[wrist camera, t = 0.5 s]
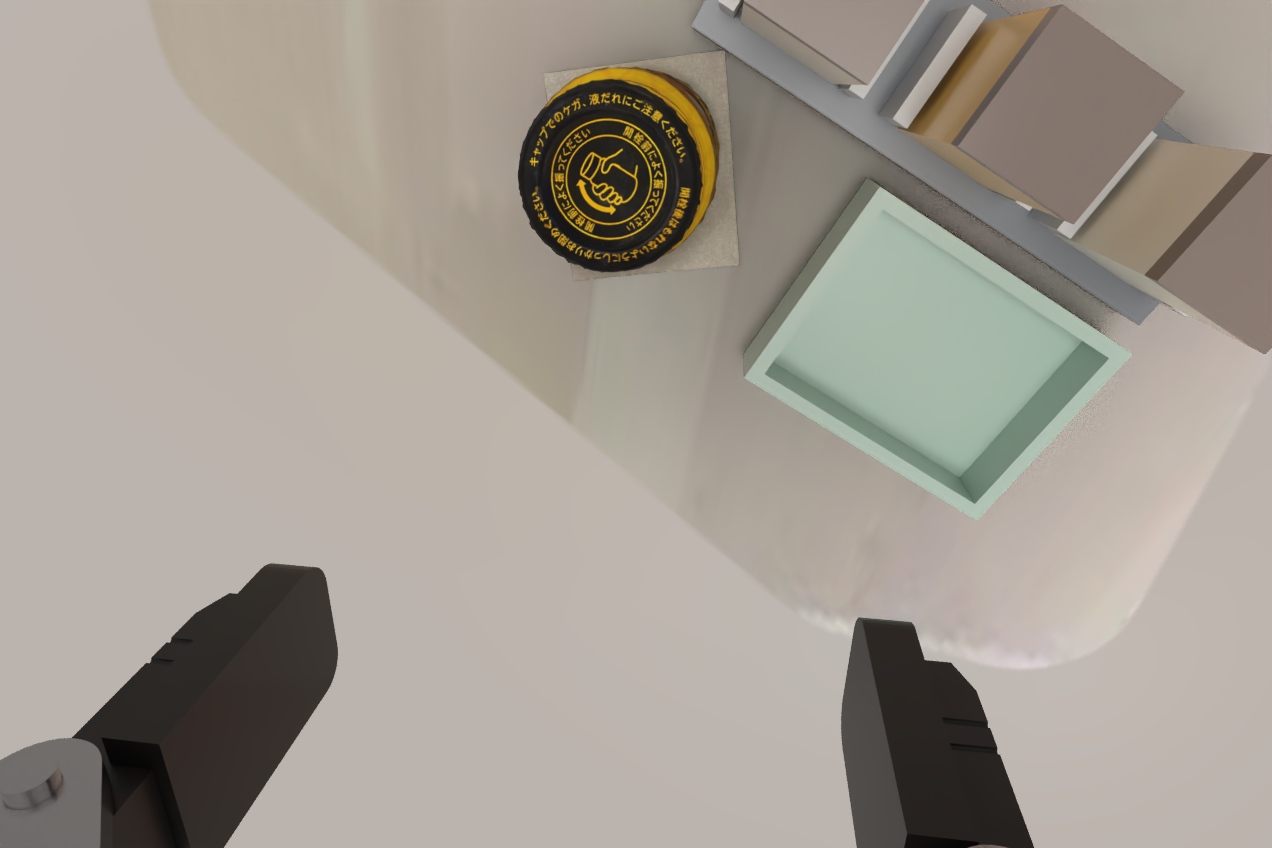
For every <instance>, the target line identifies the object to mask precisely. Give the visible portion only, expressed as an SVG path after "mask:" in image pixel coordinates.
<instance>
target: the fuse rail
mask: <svg viewBox="0 0 1272 848" xmlns="http://www.w3.org/2000/svg"><path fill="white" fill-rule="evenodd" d="M1010 16H1013V15H1011V14H1010V13H1008V12H1007V11H1006V10H1004V9H1003V8H1001V7H1000V6H999V5H997V4H996V3H994V2H993V1H991V0H705V1H704V3H703V5H702V7H701V9H700V10H699V12H698V14H697V16H696V17H695V19H694V21H693V23H692V25H691V27H692V28H693V29H694V30H696V31H697V32H699V33H700V34H702V35H703V36H705V37H706V38H708V39H709V40H711V41H712V42H714V43H715V44H717V45H718V46H720V47H721V48H723V49H724V50H726V51H727V52H729V53H730V54H732V55H733V56H735V57H736V58H738V59H739V60H741V61H742V62H744V63H745V64H747V65H748V66H750V67H751V68H752V69H754V70H755V71H757V72H758V73H760V74H761V75H763V76H764V77H766V78H767V79H769V80H770V81H772V82H773V83H775V84H776V85H778V86H779V87H781V88H782V89H784V90H785V91H787V92H788V93H790V94H791V95H793V96H794V97H796V98H797V99H799V100H800V101H802V102H803V103H805V104H806V105H808V106H809V107H811V108H812V109H814V110H815V111H817V112H818V113H820V114H821V115H823V116H824V117H826V118H827V119H829V120H830V121H832V122H833V123H835V124H836V125H838V126H839V127H841V128H842V129H844V130H845V131H847V132H848V133H850V134H851V135H853V136H854V137H856V138H857V139H859V140H860V141H862V142H863V143H865V144H866V145H868V146H869V147H871V148H872V149H874V150H875V151H877V152H878V153H880V154H881V155H883V156H884V157H886V158H887V159H889V160H890V161H892V162H893V163H895V164H896V165H898V166H899V167H901V168H902V169H904V170H905V171H907V172H908V173H910V174H911V175H913V176H914V177H916V178H917V179H919V180H920V181H922V182H923V183H925V184H926V185H928V186H929V187H931V188H932V189H934V190H935V191H937V192H938V193H940V194H941V195H943V196H944V197H946V198H947V199H949V200H950V201H952V202H953V203H955V204H956V205H958V206H959V207H961V208H962V209H964V210H965V211H967V212H968V213H970V214H971V215H973V216H974V217H976V218H977V219H979V220H980V221H982V222H983V223H985V224H986V225H988V226H989V227H991V228H992V229H994V230H995V231H997V232H998V233H1000V234H1001V235H1002V236H1004V237H1005V238H1007V239H1008V240H1010V241H1011V242H1013V243H1014V244H1016V245H1017V246H1019V247H1020V248H1022V249H1023V250H1025V251H1026V252H1028V253H1029V254H1031V255H1032V256H1034V257H1035V258H1037V259H1038V260H1040V261H1041V262H1043V263H1044V264H1046V265H1047V266H1049V267H1050V268H1052V269H1053V270H1055V271H1056V272H1058V273H1059V274H1061V275H1062V276H1064V277H1065V278H1067V279H1068V280H1070V281H1071V282H1073V283H1074V284H1076V285H1077V286H1079V287H1080V288H1082V289H1083V290H1085V291H1086V292H1088V293H1089V294H1091V295H1092V296H1094V297H1095V298H1097V299H1098V300H1100V301H1101V302H1103V303H1104V304H1106V305H1107V306H1109V307H1110V308H1112V309H1113V310H1115V311H1116V312H1118V313H1120V314H1121V315H1123V316H1125V317H1126V318H1128V319H1129V320H1131V321H1133V322H1134V323H1136V324H1138V325H1140V324H1141V323H1142V322H1143V320H1144V319H1145V318H1146V317H1147V316H1148V315H1149V314H1150V313H1151V312H1152V311H1153V310H1154V309H1155V307H1156V306H1157V305H1158V304H1159V303H1160V304H1162V305H1164V306H1166V307H1168V308H1170V309H1172V310H1173V311H1175V312H1177V313H1179V314H1181V315H1183V316H1185V317H1186V316H1187V315H1189V316H1191V317H1193V318H1195V319H1197V320H1199V321H1201V322H1203V323H1205V324H1207V325H1209V326H1211V327H1213V328H1215V329H1216V330H1218V331H1220V332H1222V333H1224V334H1226V335H1228V336H1230V337H1232V338H1234V339H1236V340H1238V341H1240V342H1242V343H1244V344H1246V345H1248V346H1250V347H1252V348H1253V349H1255V350H1257V351H1259V352H1261V353H1263V354H1266V353H1267V352H1268V351H1269V350H1270V349H1271V348H1272V155H1270V154H1263V153H1255V152H1248V151H1241V150H1234V149H1226V148H1219V147H1212V146H1205V145H1197V144H1193V143H1192V142H1191V141H1189V140H1188V139H1186V138H1185V137H1183V136H1182V135H1181V134H1179V133H1178V132H1176V131H1175V130H1174V129H1172V128H1171V127H1169V126H1168V125H1167V124H1165V123H1164V122H1162V121H1160V122H1159V123H1158V124H1157V125H1156V127H1155V128H1154V129H1153V130H1152V131H1151V133H1150V134H1149V135H1148V136H1147V137H1146V139H1145V140H1144V141H1143V142H1142V143H1141V144H1140V146H1139V147H1138V148H1137V149H1136V150H1135V152H1134V153H1133V154H1132V155H1131V156H1130V158H1129V159H1128V160H1127V161H1126V162H1125V164H1124V165H1123V166H1122V167H1121V168H1120V170H1119V171H1118V172H1117V173H1116V174H1115V176H1114V177H1113V178H1112V179H1111V180H1110V182H1109V183H1108V184H1107V185H1106V186H1105V188H1104V189H1103V190H1102V191H1101V192H1100V194H1099V195H1098V196H1097V197H1096V198H1095V200H1094V201H1093V202H1092V203H1091V204H1090V206H1089V207H1088V208H1087V209H1086V210H1085V212H1084V213H1083V214H1082V215H1081V216H1080V218H1079V219H1078V220H1077V221H1076V222H1075V224H1074V225H1073V224H1071V223H1069V222H1066V221H1064V220H1062V219H1059V218H1057V217H1054V216H1052V215H1050V214H1047V213H1045V212H1043V211H1040V210H1038V209H1035V208H1033V207H1031V206H1028V205H1026V204H1024V203H1021V202H1019V201H1016V200H1014V199H1012V198H1009V197H1007V196H1005V195H1002V194H1000V193H998V192H995V191H993V190H990V189H988V188H986V187H983V186H982V185H980V184H979V183H978V182H976V181H975V180H973V179H972V178H970V177H969V176H967V175H966V174H964V173H963V172H961V171H960V170H958V169H957V168H955V167H954V166H952V165H951V164H949V163H948V162H946V161H945V160H943V159H942V158H940V157H939V156H937V155H936V154H935V153H933V152H932V151H930V150H929V149H927V148H926V147H924V146H923V145H921V144H920V143H918V142H917V141H915V140H914V139H912V138H911V137H909V136H908V135H906V134H905V133H903V132H902V131H900V130H899V129H898V127H903V128H908V127H909V125H910V124H911V122H912V121H913V119H914V118H915V117H916V115H917V114H918V112H919V111H920V109H921V108H922V107H923V105H924V104H925V102H926V101H927V100H928V98H929V97H930V95H931V94H932V92H933V91H934V90H935V88H936V87H937V85H938V84H939V82H940V81H941V80H942V78H943V77H944V75H945V74H946V73H947V71H948V70H949V68H950V67H951V65H952V64H953V63H954V61H955V60H956V58H957V57H958V55H959V54H960V53H961V51H962V50H963V48H964V47H965V46H966V44H967V43H968V41H969V40H970V38H971V37H972V36H973V34H974V33H975V31H976V30H977V28H978V27H979V26H980V24H981V23H984V22H988V21H993V20H997V19H1002V18H1006V17H1010Z"/></svg>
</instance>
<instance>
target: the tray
mask: <svg viewBox="0 0 1272 848" xmlns="http://www.w3.org/2000/svg"><path fill="white" fill-rule="evenodd" d="M1131 356H1132V353H1130V352H1129V351H1128V350H1126V349H1125V348H1123V347H1122V346H1120V345H1119V344H1117V343H1116V342H1114V341H1113V340H1111V339H1110V338H1108V337H1107V336H1106V335H1104V334H1103V333H1101V332H1100V331H1098V330H1097V329H1095V328H1094V327H1092V326H1091V325H1089V324H1088V323H1086V322H1085V321H1083V320H1082V319H1080V318H1079V317H1077V316H1076V315H1074V314H1073V313H1071V312H1069V311H1068V310H1066V309H1065V308H1063V307H1062V306H1060V305H1059V304H1057V303H1056V302H1054V301H1053V300H1051V299H1050V298H1048V297H1047V296H1045V295H1044V294H1042V293H1041V292H1039V291H1038V290H1036V289H1035V288H1033V287H1032V286H1030V285H1029V284H1027V283H1026V282H1024V281H1023V280H1021V279H1020V278H1018V277H1017V276H1015V275H1014V274H1012V273H1011V272H1009V271H1008V270H1006V269H1005V268H1003V267H1002V266H1000V265H999V264H997V263H996V262H994V261H992V260H991V259H989V258H988V257H986V256H985V255H983V254H982V253H980V252H979V251H977V250H976V249H974V248H973V247H971V246H970V245H968V244H967V243H965V242H964V241H962V240H961V239H959V238H958V237H956V236H955V235H953V234H952V233H950V232H949V231H947V230H946V229H944V228H943V227H941V226H940V225H938V224H937V223H935V222H934V221H932V220H931V219H929V218H928V217H926V216H925V215H923V214H922V213H920V212H919V211H917V210H915V209H914V208H912V207H911V206H909V205H908V204H906V203H905V202H903V201H902V200H900V199H899V198H897V197H896V196H894V195H893V194H891V193H890V192H888V191H887V190H885V189H884V188H882V187H881V186H879V185H878V184H876V183H875V182H873V181H872V180H870V179H869V178H866V180H865V181H864V183H863V184H862V186H861V187H860V188H859V190H858V191H857V193H856V194H855V196H854V197H853V198H852V200H851V201H850V203H849V204H848V206H847V207H846V208H845V210H844V211H843V213H842V214H841V216H840V217H839V218H838V220H837V221H836V223H835V224H834V226H833V227H832V228H831V230H830V231H829V233H828V234H827V236H826V237H825V238H824V240H823V241H822V243H821V244H820V246H819V247H818V248H817V250H816V251H815V253H814V254H813V256H812V257H811V258H810V260H809V261H808V263H807V264H806V266H805V267H804V268H803V270H802V271H801V273H800V274H799V276H798V277H797V278H796V280H795V281H794V283H793V284H792V286H791V287H790V288H789V290H788V291H787V293H786V294H785V296H784V297H783V298H782V300H781V301H780V303H779V304H778V306H777V307H776V308H775V310H774V311H773V313H772V314H771V316H770V317H769V318H768V320H767V321H766V323H765V324H764V326H763V327H762V328H761V330H760V331H759V333H758V334H757V336H756V337H755V338H754V340H753V341H752V343H751V344H750V346H749V347H748V348H747V350H746V351H745V353H744V354H743V368H744V378H745V379H746V380H748V381H749V382H751V383H753V384H754V385H756V386H758V387H759V388H761V389H762V390H764V391H766V392H767V393H769V394H771V395H772V396H774V397H775V398H777V399H779V400H780V401H782V402H784V403H785V404H787V405H788V406H790V407H792V408H793V409H795V410H797V411H798V412H800V413H801V414H803V415H805V416H806V417H808V418H810V419H811V420H813V421H815V422H816V423H818V424H819V425H821V426H823V427H824V428H826V429H828V430H829V431H831V432H832V433H834V434H836V435H837V436H839V437H841V438H842V439H844V440H845V441H847V442H849V443H850V444H852V445H854V446H855V447H857V448H858V449H860V450H862V451H863V452H865V453H867V454H868V455H870V456H871V457H873V458H875V459H876V460H878V461H880V462H881V463H883V464H885V465H886V466H888V467H889V468H891V469H893V470H894V471H896V472H898V473H899V474H901V475H902V476H904V477H906V478H907V479H909V480H911V481H912V482H914V483H915V484H917V485H919V486H920V487H922V488H924V489H925V490H927V491H928V492H930V493H932V494H933V495H935V496H937V497H938V498H940V499H941V500H943V501H945V502H946V503H948V504H950V505H951V506H953V507H955V508H956V509H958V510H959V511H961V512H963V513H964V514H966V515H968V516H969V517H971V518H972V519H974V520H976V521H977V520H978V519H979V518H980V517H981V516H982V515H983V514H984V513H985V512H986V511H987V510H988V509H989V508H990V507H991V505H992V504H993V503H994V502H995V501H996V500H997V499H998V498H999V497H1000V496H1001V495H1002V494H1003V493H1004V492H1005V490H1006V489H1007V488H1008V487H1009V486H1010V485H1011V484H1012V483H1013V482H1014V481H1015V480H1016V479H1017V478H1018V477H1019V475H1020V474H1021V473H1022V472H1023V471H1024V470H1025V469H1026V468H1027V467H1028V466H1029V465H1030V464H1031V463H1032V462H1033V460H1034V459H1035V458H1036V457H1037V456H1038V455H1039V454H1040V453H1041V452H1042V451H1043V450H1044V449H1045V448H1046V447H1047V445H1048V444H1049V443H1050V442H1051V441H1052V440H1053V439H1054V438H1055V437H1056V436H1057V435H1058V434H1059V433H1060V432H1061V430H1062V429H1063V428H1064V427H1065V426H1066V425H1067V424H1068V423H1069V422H1070V421H1071V420H1072V419H1073V418H1074V417H1075V416H1076V414H1077V413H1078V412H1079V411H1080V410H1081V409H1082V408H1083V407H1084V406H1085V405H1086V404H1087V403H1088V402H1089V401H1090V399H1091V398H1092V397H1093V396H1094V395H1095V394H1096V393H1097V392H1098V391H1099V390H1100V389H1101V388H1102V387H1103V386H1104V384H1105V383H1106V382H1107V381H1108V380H1109V379H1110V378H1111V377H1112V376H1113V375H1114V374H1115V373H1116V372H1117V371H1118V369H1119V368H1120V367H1121V366H1122V365H1123V364H1124V363H1125V362H1126V361H1127V360H1128V359H1129V358H1130V357H1131Z"/></svg>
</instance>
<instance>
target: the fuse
mask: <svg viewBox="0 0 1272 848" xmlns="http://www.w3.org/2000/svg"><path fill="white" fill-rule="evenodd" d="M1183 93H1184V91H1183V90H1181V89H1180V88H1178V87H1177V86H1176V85H1174V84H1173V83H1171V82H1170V81H1169V80H1167V79H1166V78H1165V77H1163V76H1162V75H1160V74H1159V73H1158V72H1156V71H1155V70H1153V69H1152V68H1151V67H1149V66H1148V65H1146V64H1145V63H1144V62H1142V61H1141V60H1139V59H1138V58H1137V57H1135V56H1134V55H1132V54H1131V53H1130V52H1128V51H1127V50H1125V49H1124V48H1123V47H1121V46H1120V45H1118V44H1117V43H1116V42H1114V41H1113V40H1112V39H1110V38H1109V37H1107V36H1106V35H1105V34H1103V33H1102V32H1100V31H1099V30H1098V29H1096V28H1095V27H1093V26H1092V25H1091V24H1089V23H1088V22H1086V21H1085V20H1084V19H1082V18H1081V17H1079V16H1078V15H1077V14H1075V13H1074V12H1072V11H1071V10H1070V9H1068V8H1067V7H1065V6H1064V5H1063V4H1062V5H1058V6H1054V7H1049V8H1045V9H1041V10H1036V11H1032V12H1028V13H1023V14H1019V15H1015V16H1010V17H1006V18H1002V19H997V20H993V21H988V22H984V23H981V24H980V26H979V27H978V28H977V30H976V31H975V33H974V34H973V36H972V37H971V38H970V40H969V41H968V43H967V44H966V46H965V47H964V48H963V50H962V51H961V53H960V54H959V55H958V57H957V58H956V60H955V61H954V63H953V64H952V65H951V67H950V68H949V70H948V71H947V73H946V74H945V75H944V77H943V78H942V80H941V81H940V82H939V84H938V85H937V87H936V88H935V90H934V91H933V92H932V94H931V95H930V97H929V98H928V100H927V101H926V102H925V104H924V105H923V107H922V108H921V109H920V111H919V112H918V114H917V115H916V117H915V118H914V119H913V121H912V122H911V124H910V125H909V127H908V128H903V127H898V129H899V130H900V131H902V132H903V133H905V134H906V135H908V136H909V137H911V138H912V139H914V140H915V141H917V142H918V143H920V144H921V145H923V146H924V147H926V148H927V149H929V150H930V151H932V152H933V153H935V154H936V155H937V156H939V157H940V158H942V159H943V160H945V161H946V162H948V163H949V164H951V165H952V166H954V167H955V168H957V169H958V170H960V171H961V172H963V173H964V174H966V175H967V176H969V177H970V178H972V179H973V180H975V181H976V182H978V183H979V184H980V185H982V186H983V187H986V188H988V189H990V190H993V191H995V192H998V193H1000V194H1002V195H1005V196H1007V197H1009V198H1012V199H1014V200H1016V201H1019V202H1021V203H1024V204H1026V205H1028V206H1031V207H1033V208H1035V209H1038V210H1040V211H1043V212H1045V213H1047V214H1050V215H1052V216H1054V217H1057V218H1059V219H1062V220H1064V221H1066V222H1069V223H1071V224H1073V225H1074V224H1075V222H1076V221H1077V220H1078V219H1079V218H1080V216H1081V215H1082V214H1083V213H1084V212H1085V210H1086V209H1087V208H1088V207H1089V206H1090V204H1091V203H1092V202H1093V201H1094V200H1095V198H1096V197H1097V196H1098V195H1099V194H1100V192H1101V191H1102V190H1103V189H1104V188H1105V186H1106V185H1107V184H1108V183H1109V182H1110V180H1111V179H1112V178H1113V177H1114V176H1115V174H1116V173H1117V172H1118V171H1119V170H1120V168H1121V167H1122V166H1123V165H1124V164H1125V162H1126V161H1127V160H1128V159H1129V158H1130V156H1131V155H1132V154H1133V153H1134V152H1135V150H1136V149H1137V148H1138V147H1139V146H1140V144H1141V143H1142V142H1143V141H1144V140H1145V139H1146V137H1147V136H1148V135H1149V134H1150V133H1151V131H1152V130H1153V129H1154V128H1155V127H1156V125H1157V124H1158V123H1159V122H1160V121H1161V119H1162V118H1163V117H1164V116H1165V115H1166V113H1167V112H1168V111H1169V110H1170V109H1171V107H1172V106H1173V105H1174V104H1175V103H1176V101H1177V100H1178V99H1179V98H1180V97H1181V95H1182V94H1183Z"/></svg>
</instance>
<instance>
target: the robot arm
mask: <svg viewBox="0 0 1272 848" xmlns="http://www.w3.org/2000/svg"><path fill="white" fill-rule="evenodd" d="M151 659H152V660H151V662H150V663H146V664H145V665H144V666H143V667H142V668H141V669H140V670H139V671H138V672H137V673H136V674H135V675H134V676H133V677H132V678H131V679H130V680H129V681H128V682H127V683H126V684H125V685H124V686H123V687H122V688H121V689H120V690H119V691H118V692H117V693H116V694H115V695H114V696H113V697H112V698H111V699H110V700H109V701H108V702H107V703H106V704H105V705H104V706H103V707H102V708H101V709H100V710H99V711H98V712H97V713H96V714H95V715H94V716H93V717H92V718H91V719H90V720H89V721H88V722H87V723H86V724H85V725H84V726H83V727H82V728H81V729H80V730H79V731H78V732H77V733H76V734H75V735H74V736H73V737H72V738H66V739H65V738H64V739H55V740H49V741H45V742H42V743H37V744H34V745H32V746H29V747H26V748H23V749H21V750H19V751H17V752H15V753H12V754H11V755H9V756H7V757H5V758H4V759H2V760H0V848H224V846H225V845H226V843H227V842H228V840H229V839H230V837H231V836H232V834H233V833H234V831H235V830H236V828H237V827H238V825H239V824H240V822H241V821H242V819H243V818H244V816H245V815H246V813H247V812H248V810H249V809H250V807H251V805H252V804H253V802H254V801H255V800H256V798H257V797H258V795H259V794H260V792H261V791H262V789H263V787H264V786H265V784H266V783H267V781H268V780H269V778H270V777H271V775H272V774H273V772H274V771H275V769H276V768H277V766H278V764H279V763H280V762H281V760H282V759H283V757H284V756H285V754H286V752H287V751H288V750H289V748H290V747H291V745H292V744H293V742H294V740H295V739H296V737H297V736H298V734H299V733H300V731H301V730H302V729H303V727H304V725H305V724H306V722H307V721H308V719H309V718H310V716H311V715H312V713H313V712H314V710H315V709H316V707H317V706H318V704H319V703H320V701H321V700H322V698H323V697H324V695H325V694H326V692H327V691H328V689H329V687H330V685H331V683H332V680H333V678H334V674H335V671H336V666H337V659H338V647H337V641H336V635H335V629H334V623H333V617H332V611H331V606H330V599H329V593H328V588H327V582H326V577H325V575H324V573H323V571H322V570H321V569H320V568H316V567H306V566H305V567H304V566H294V565H284V564H268V565H266V566H264V567H263V568H262V569H261V570H260V571H259V572H258V573H257V574H256V575H255V576H254V577H253V578H252V579H251V580H250V581H249V583H247V584H246V585H245V586H244V588H243V589H242V590H241V591H240V592H239V593H238V594H232V593H229V594H227V595H226V596H224V597H222V598H221V599H219V600H217V601H215V602H214V603H212V604H210V605H209V606H207V607H205V608H204V609H202V610H201V611H199V612H197V613H195V614H194V615H193V617H191V619H189V620H188V621H187V623H185V624H184V626H182V628H180V629H179V631H178V632H176V634H175V635H174V636H173V637H172V638H171V642H170V643H166V644H165V645H164V646H163V647H162V648H161V649H160V650H159V651H158V652H157V653H156V654H155V655H154V656H153V657H152V658H151ZM841 722H842V723H841V733H842V746H843V753H844V761H845V767H846V775H847V781H848V788H849V795H850V802H851V809H852V816H853V823H854V830H855V837H856V844H857V848H1034V846H1033V843H1032V841H1031V838H1030V835H1029V832H1028V830H1027V827H1026V824H1025V822H1024V819H1023V816H1022V813H1021V811H1020V808H1019V805H1018V803H1017V800H1016V797H1015V794H1014V792H1013V789H1012V786H1011V784H1010V781H1009V778H1008V775H1007V773H1006V770H1005V767H1004V765H1003V762H1002V759H1001V756H1000V755H998V754H997V746H996V743H995V740H994V737H993V735H992V732H991V730H990V728H988V722H987V718H986V716H985V713H984V710H983V708H982V705H981V702H980V700H979V697H978V694H977V692H976V690H975V689H974V688H973V687H972V686H971V685H970V683H969V682H968V681H967V680H966V679H965V678H964V677H963V676H962V674H961V673H960V672H959V671H958V670H957V669H956V668H955V667H954V666H953V665H952V663H948V662H938V661H927V660H924V656H923V653H922V650H921V646H920V643H919V640H918V636H917V633H916V630H915V627H914V625H913V624H912V623H911V622H904V621H892V620H881V619H870V618H858V619H857V621H856V623H855V627H854V633H853V639H852V646H851V652H850V658H849V664H848V670H847V677H846V683H845V689H844V695H843V702H842V716H841Z"/></svg>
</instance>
